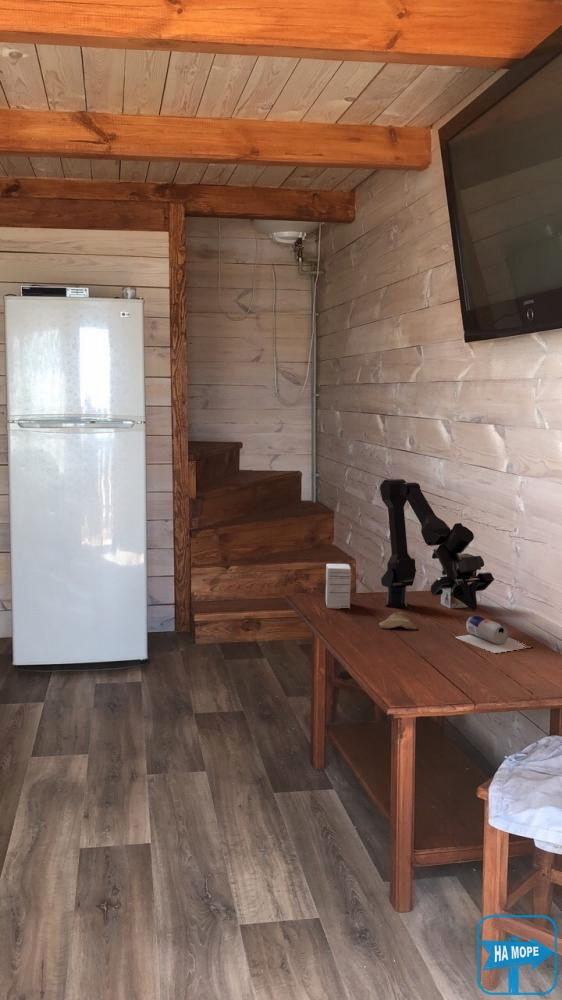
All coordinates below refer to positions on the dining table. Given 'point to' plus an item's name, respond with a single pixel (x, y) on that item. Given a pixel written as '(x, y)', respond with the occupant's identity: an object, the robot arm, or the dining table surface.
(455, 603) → the coffee box
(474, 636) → the white mat
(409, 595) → the dining table surface
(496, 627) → the energy drink
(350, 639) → the dining table surface
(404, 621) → the pottery shard
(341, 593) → the supplement box
